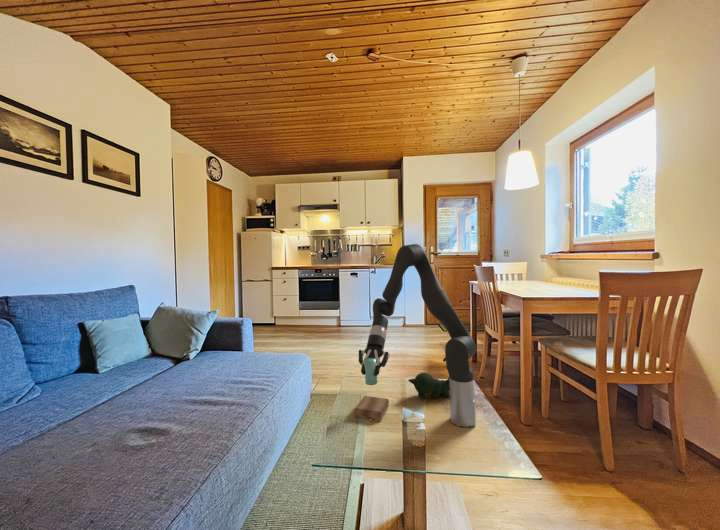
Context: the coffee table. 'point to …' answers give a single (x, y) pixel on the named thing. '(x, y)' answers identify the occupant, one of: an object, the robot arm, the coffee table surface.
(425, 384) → the toy figurine
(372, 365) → the teal cylinder
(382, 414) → the walnut plinth
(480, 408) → the coffee table surface
